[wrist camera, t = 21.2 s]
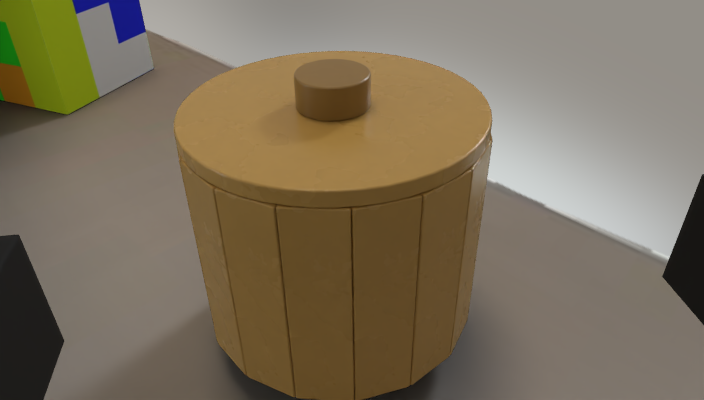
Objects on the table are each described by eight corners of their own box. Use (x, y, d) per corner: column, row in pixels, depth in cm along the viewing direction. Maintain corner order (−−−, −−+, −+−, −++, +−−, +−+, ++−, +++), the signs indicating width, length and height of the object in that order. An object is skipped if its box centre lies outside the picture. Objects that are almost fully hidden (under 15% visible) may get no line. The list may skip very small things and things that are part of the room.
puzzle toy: (153, 68, 52) (127, -52, 46) (67, 114, 44) (23, -23, 38) (69, 54, 55) (35, -60, 49) (-25, 94, 47) (-78, -35, 42)
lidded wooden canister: (201, 246, 28) (158, 40, 22) (407, 205, 31) (417, 11, 25) (233, 436, 20) (177, 182, 14) (515, 357, 22) (567, 116, 16)
